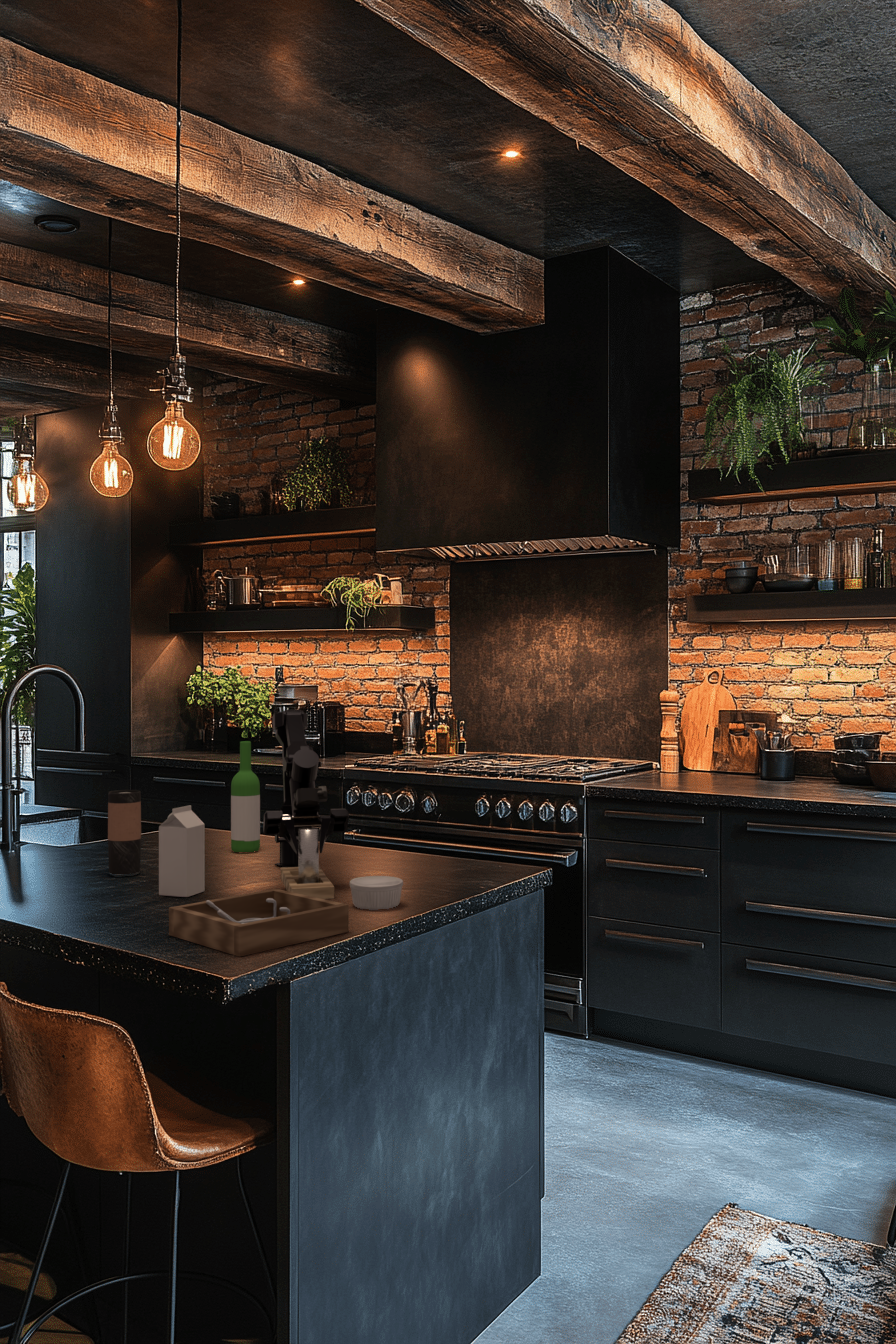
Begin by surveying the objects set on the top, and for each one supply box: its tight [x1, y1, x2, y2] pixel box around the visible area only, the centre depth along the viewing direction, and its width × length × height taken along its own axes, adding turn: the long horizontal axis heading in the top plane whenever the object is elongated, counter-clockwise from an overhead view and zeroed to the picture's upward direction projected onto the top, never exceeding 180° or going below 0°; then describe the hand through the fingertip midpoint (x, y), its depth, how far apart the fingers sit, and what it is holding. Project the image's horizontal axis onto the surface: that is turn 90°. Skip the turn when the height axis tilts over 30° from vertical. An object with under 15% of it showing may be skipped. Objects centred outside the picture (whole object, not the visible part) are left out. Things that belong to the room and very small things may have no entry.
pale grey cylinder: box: [297, 826, 320, 884], centre depth 232 cm, size 4×4×14 cm
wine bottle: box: [230, 740, 261, 853], centre depth 288 cm, size 8×8×30 cm
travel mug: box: [107, 789, 142, 874], centre depth 254 cm, size 8×8×20 cm
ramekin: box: [349, 875, 404, 911], centre depth 218 cm, size 11×11×5 cm
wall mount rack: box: [205, 898, 290, 924], centre depth 196 cm, size 16×14×6 cm
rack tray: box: [168, 888, 350, 957], centre depth 195 cm, size 22×24×5 cm
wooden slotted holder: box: [280, 866, 335, 900], centre depth 237 cm, size 26×9×2 cm, turn 14°
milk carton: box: [158, 805, 206, 898], centre depth 231 cm, size 7×7×19 cm
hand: (309, 852), depth 231 cm, fingers open, 5 cm apart
